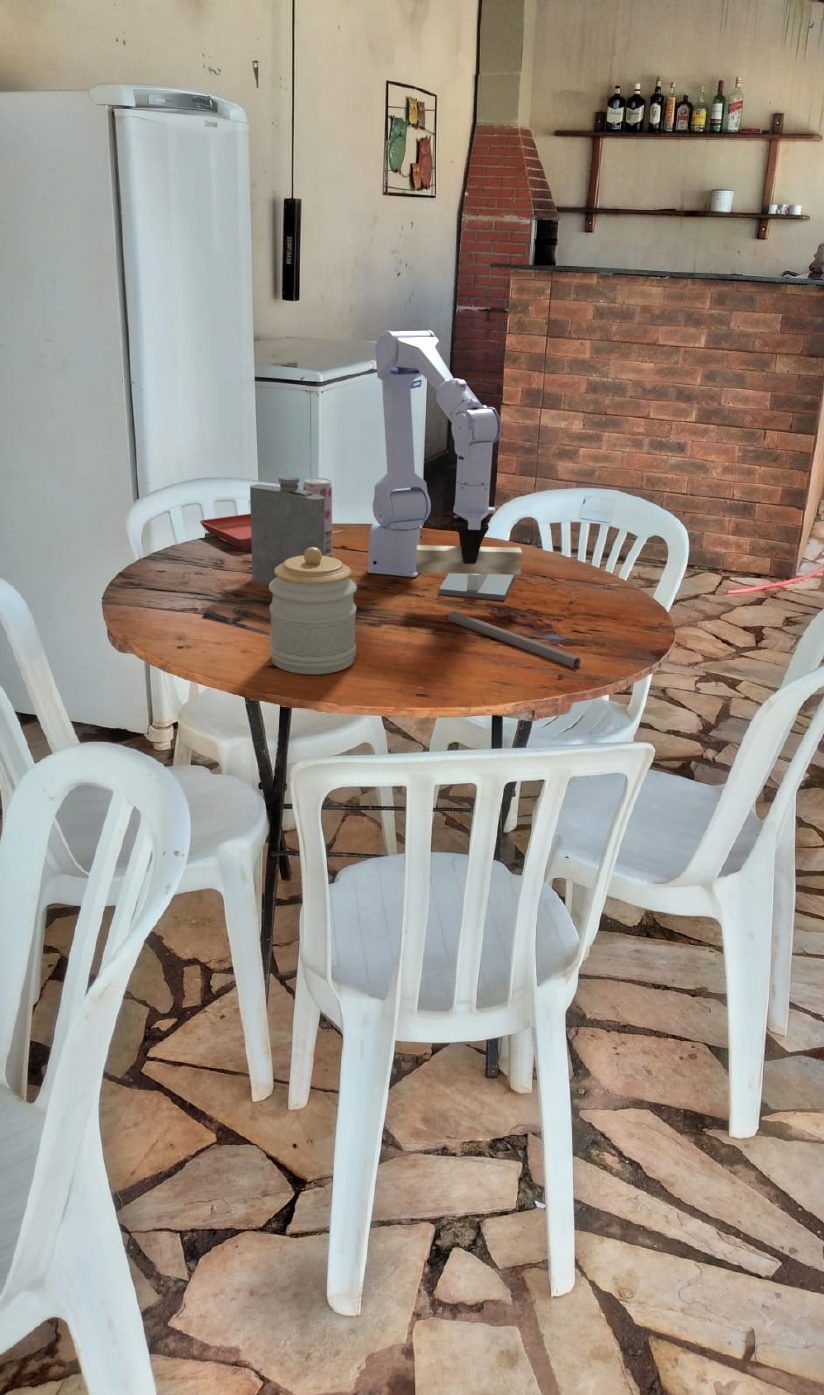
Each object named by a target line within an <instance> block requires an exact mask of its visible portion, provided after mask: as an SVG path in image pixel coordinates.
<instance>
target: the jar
mask: <svg viewBox="0 0 824 1395" xmlns="http://www.w3.org/2000/svg"><path fill="white" fill-rule="evenodd" d="M274 573H275V575H276V576H277V578H275V579H274V580H273V581H271V583H270V584H268V589H269V591H270V592H271V594H272V600H271V601H272V602H271V603H270V604H269V608H268V609H269V612H270V618H271V623H270V644H269V653H270V656H271V661H272V663H273V664H274V665H275V667H277V668H279V669H281V670H283V671H286V672H290V673H294V674H299V675H300V674H301V675H325V674H327V675H328V674H333V673H336V672H341V671H343V670H345V669H347V668H349V667H350V666H352V664H353V663H354V661H355V656H356V653H357V650H356V649H357V645H356V612H357V605H356V604H355V602H354V594H355V593H356V591H357V589H358V586H357V583H356V582H355V581H354V580H352V579H351V578H349V577H350V576H351V575H352V569H351V568H350V567H349V566H348V565H346V564H344V563H343V562H342V561H341V560H340V559H337V558H335V557H333V556H330V557H328V556H322V554H321V551H320V550H319V549H318V548H316V547H310V548H308V549H307V550H306V551H305V553H304V556H296V557H292V558H289V559H287V560H286V561H285V562H284V563H282V564H280V565H279V566H277V567H276V568H275V570H274Z"/></svg>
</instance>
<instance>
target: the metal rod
mask: <svg viewBox="0 0 824 1395" xmlns="http://www.w3.org/2000/svg"><path fill="white" fill-rule="evenodd" d="M447 620H448V621H449V622H451V623H454V624H456V625H459V626H461V627H464V628H466V629H469V630H472V631H475V632H477V633H480V634H482V635H485V636H488V637H490V638H492V639H495V640H498V641H500V642H502V643H507V644H508V645H511V646H514V647H517V648H518V649H521V650H524V651H527V652H529V653H532V654H535V655H538V656H540V657H542V658H545V659H548V660H550V661H553V662H555V663H558V664H561V665H564V666H566V667H569V668H572V669H575V668H578V667H580V665H581V663H582V662H581V660H582V659H581V658H580V657H579V656H577V655H574V654H572V653H569V652H566V651H563V650H561V649H558V648H555V647H553V646H549V645H547V644H544V643H541V642H539V641H536V640H534V639H531V638H527V637H526V636H523V635H520V634H517V633H514V632H512V631H509V630H506V629H503V628H502V627H498V626H496V625H493V624H490V623H488V622H485V621H483V620H480V619H476V618H474V617H471V616H469V615H466V614H464V613H460V612H458V611H456V610H452V611H450V612H449V614H448V617H447Z"/></svg>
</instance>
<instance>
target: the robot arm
mask: <svg viewBox="0 0 824 1395" xmlns="http://www.w3.org/2000/svg"><path fill="white" fill-rule="evenodd" d="M374 349H375V350H374V351H375V362H376V363H375V364H376V365H375V366H376V378H378V379H379V380H380V381H381V385H382V386H381V387H382V388H381V389H382V390H381V391H382V403H383V404H382V405H383V420H384V422H383V424H384V439H385V441H384V442H385V452H386V453H385V455H386V457H385V458H386V469H387V470H386V471H387V472H386V474H385V475H384V476H383V477H382V478H381V479H380V480H378V482H376V484H375V485H374V494H373V501H372V512H373V516H374V519H375V521H377V522H374V523H372V525H371V526H370V529H369V534H368V536H369V537H368V567H367V568H368V569H367V573H369V574H377V575H388V576H398V577H408V578H415V577H418V575H419V573H416V550H417V545H420V543H421V542H420V538H421V537H420V536H421V527H423V526H424V524H425V521H426V520H427V519H428V518H429V516H430V513H431V509H432V508H431V506H432V505H431V504H432V503H431V499H430V496H429V494H428V486H427V482H426V481H425V480H424V479H423V478H422V477H420V476H419V475H418V474H417V473H416V472H415V471H416V470H415V469H416V468H415V452H414V451H415V450H414V434H413V432H414V431H413V414H412V395H411V394H412V393H411V392H412V391H411V386H412V384H413V383H414V381H415V380H416V379H417V378H420V377H422V375H423V377H424V379H426V381H427V382H428V383H429V385H431V386H432V388H434V390H436V394H435V400H436V403H437V404H438V405H439V408H440V409H441V410H442V411H443V413H444V415H445V416H446V418H448V420H449V421H450V423H451V434H452V438H453V441H454V451H455V452H454V453H455V454H456V455H457V458H456V459H457V460H456V461H457V462H456V475H455V476H456V477H455V478H456V481H455V499H454V506H453V513H454V514H456V515H453V521H454V526H455V528H456V530H457V533H458V537H459V538H458V539H459V546H461V550H462V559H463V563H464V564H475V563H476V561H477V557H478V554H479V550H480V547H482V542H483V540H484V538H485V536H486V534H487V532H488V531H489V527H490V526H489V524H485V523H486V521H487V516H488V515H489V514H490V515H491V514H496V508H495V507H494V506H489V505H490V504H489V503H490V490H491V489H490V488H491V476H492V474H491V473H492V458H493V444H494V443H496V442H497V441H498V439H499V438H500V436H501V432H502V422H501V417H500V415H499V414H498V412H497V409H496V408H494V407H492V406H487V405H485V404H483V405H482V403H481V402H480V400H479V399H478V398H477V397H476V395H475V394H474V392H473V391H472V390H471V388H470V387H469V386H468V383H467V382H466V380H465V379H460V378H454V376H453V375H452V373H451V371H450V370H449V368H448V366H447V365H446V363H445V362H444V360H443V358H442V356H441V354H440V351H441V350H440V349H441V348H440V340H439V339H438V338H437V336H436V334H435V333H434V331H432V330H431V329H424V330H402V331H400V330H399V331H397V330H396V331H393V330H384V331H382V333H380V335H379V336H378V339H377V342H376V343H375V348H374ZM400 489H401V490H400ZM402 489H403V490H402Z"/></svg>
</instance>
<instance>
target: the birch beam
mask: <svg viewBox="0 0 824 1395" xmlns="http://www.w3.org/2000/svg"><path fill="white" fill-rule="evenodd" d="M522 558H523V551H522V549H521V547H515V546H514V547H511V546H510V547H507V546H506V547H504V546H480V550H479V554H478V557H477V561H476V563H475V564H464V563H463V559H462V550H461V546H460V545H459V546H457V545H426V544H423V545H421V544H419V545H417V550H416V573H418V574H419V573H420V574H421V573H422V574H425V573H427V574H449V573H458V574H503V575H515V576H521V571H522V560H523V559H522Z"/></svg>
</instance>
